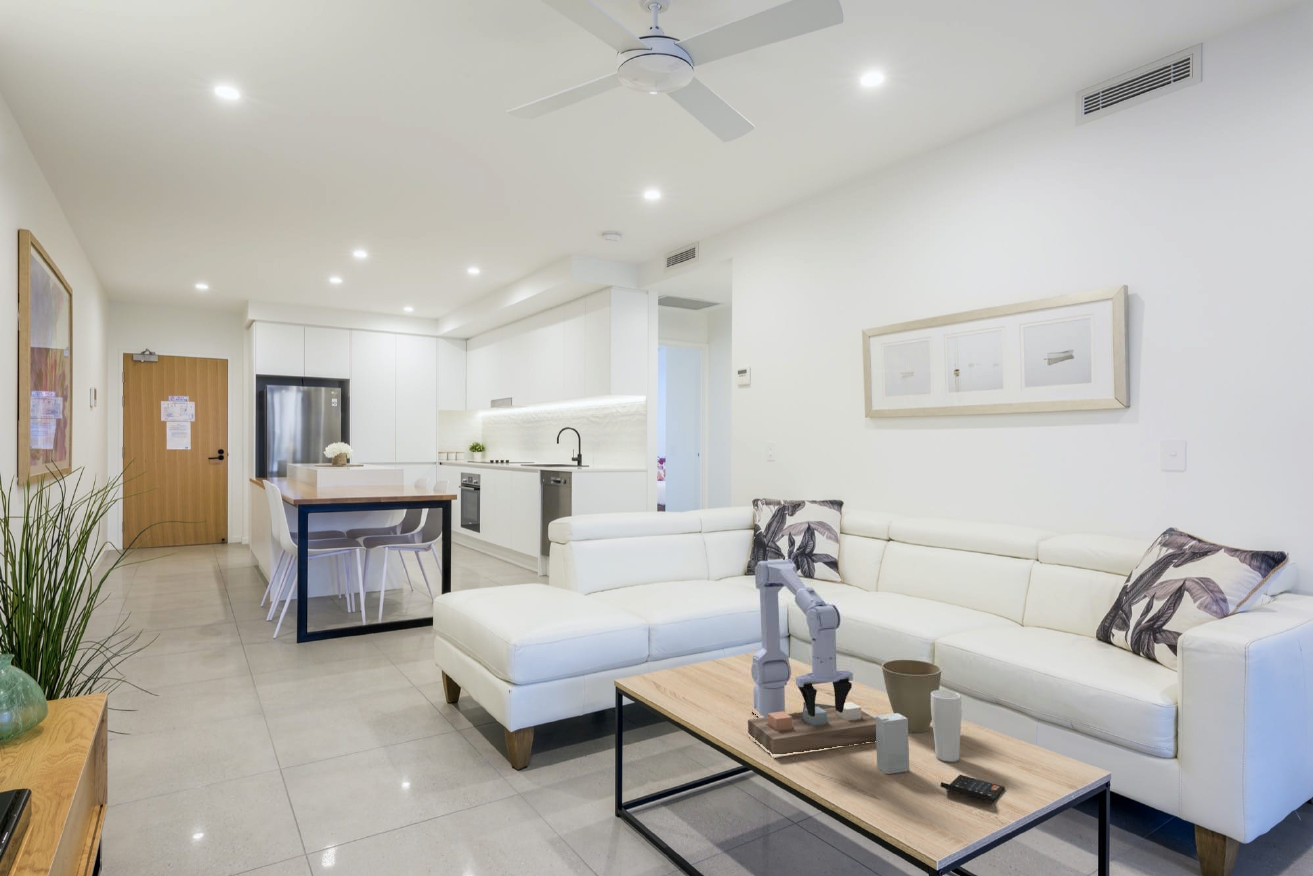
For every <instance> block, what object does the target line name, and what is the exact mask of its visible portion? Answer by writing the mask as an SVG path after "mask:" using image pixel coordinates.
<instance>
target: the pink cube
mask: <svg viewBox="0 0 1313 876" xmlns="http://www.w3.org/2000/svg"><path fill="white" fill-rule="evenodd" d="M788 714H789V713H787V712H786V711H785V712H784V711H781V712H774V713H768V726H769V727H771V728H772V729H773V730H775V731H781V730H788V729H792V717H791V716H790V715H788Z"/></svg>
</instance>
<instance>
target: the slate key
mask: <svg viewBox="0 0 1313 876" xmlns="http://www.w3.org/2000/svg"><path fill="white" fill-rule="evenodd" d="M823 709H824V708H821V707H820V706H815V716H814V717H812V716H810V715H809V714H808V711H807V707H805V708H802V712H803V721H805V722H806V723H808V724H809V725H811V726H815V725H822V724H827V712H826V711H825V710H823Z"/></svg>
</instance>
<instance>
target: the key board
mask: <svg viewBox="0 0 1313 876" xmlns="http://www.w3.org/2000/svg"><path fill="white" fill-rule="evenodd" d="M822 709H823V710H825V711H826V712H827V724H822V725H815V726H811V725H809V724H808V723H806V722H805V721H803V711H800V712H793V713H787V714H788V715H790V716H791V717H792V729H788V730H781V731H775V730H773V729H772V728H771V727H769V726H768V717H763V718H758V717H757V718H750V719H747V732H748V733H749V734H750V735H751V736H752V737H753V738H755V740H757V741H758V742H759V743H760V744H762V745H763V746H764V747H765V748H766V749H767V750H769V751H770V752H771V753H772V754H787V753H793V752H804V751H810V750H819V749H824V748H832V747H837V746H849V745H854V744H862V743H866V742H875V741H876V717H874V716H872V715H870V714H868V713H867V712H865V711H863V710H861V719H857V720H850V721H845V720H844V719H842V718H840V717H839V716H837V711H836V708H835V707H829V708H822ZM748 733H747V734H748ZM875 743H876V742H875ZM862 745H863V744H862ZM849 747H850V746H849Z"/></svg>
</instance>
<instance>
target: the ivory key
mask: <svg viewBox="0 0 1313 876" xmlns="http://www.w3.org/2000/svg"><path fill="white" fill-rule="evenodd" d="M861 711H862V707H861V706H860V705H857V704H856V703H854V702H852V701H849V702H848V701H847V702H845V704H844V708H843V712H842V713H840V712H838V711H837V716H839V717H840V718H842V719H844V720H845V721H850V720H857V719H861Z"/></svg>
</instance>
